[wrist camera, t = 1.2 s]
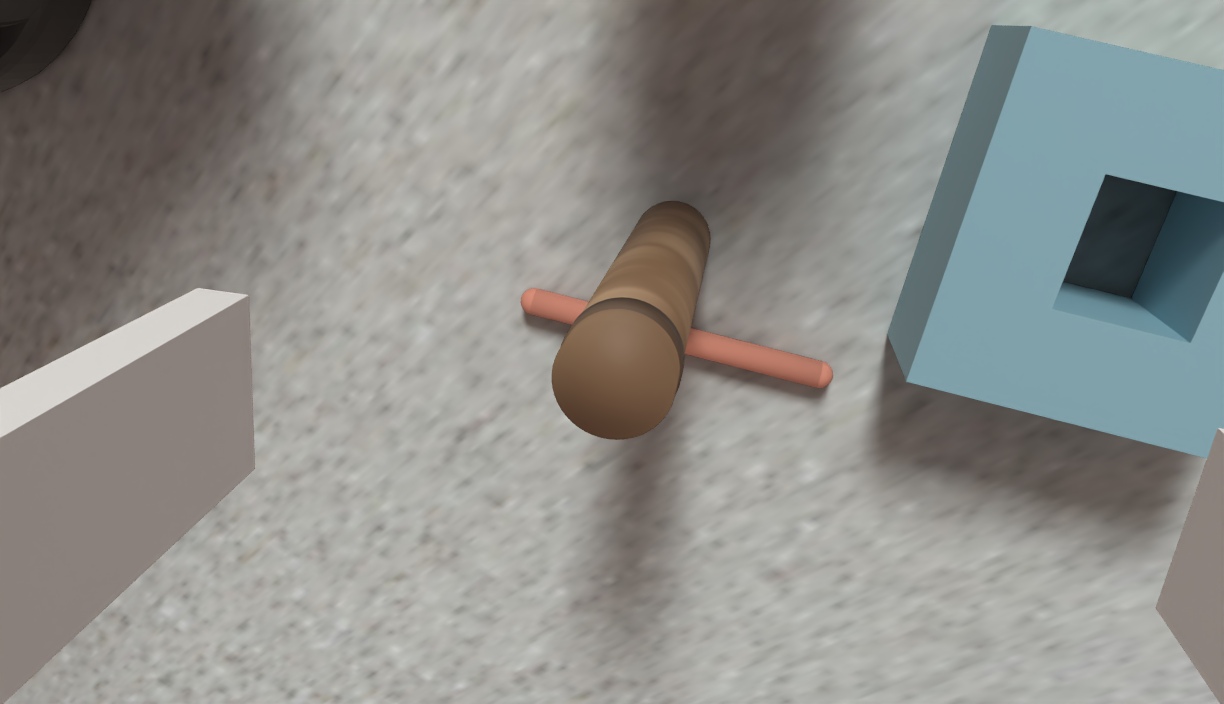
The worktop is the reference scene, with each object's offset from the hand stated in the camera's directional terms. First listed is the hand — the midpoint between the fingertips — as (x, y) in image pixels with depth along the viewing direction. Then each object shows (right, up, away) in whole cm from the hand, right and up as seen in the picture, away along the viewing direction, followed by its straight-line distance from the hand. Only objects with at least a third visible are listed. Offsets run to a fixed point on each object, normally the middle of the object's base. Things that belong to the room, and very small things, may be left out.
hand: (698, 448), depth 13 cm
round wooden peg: (+1, +6, +22) cm, 23 cm away
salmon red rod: (+1, +2, +23) cm, 24 cm away
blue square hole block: (+15, +6, +20) cm, 26 cm away
